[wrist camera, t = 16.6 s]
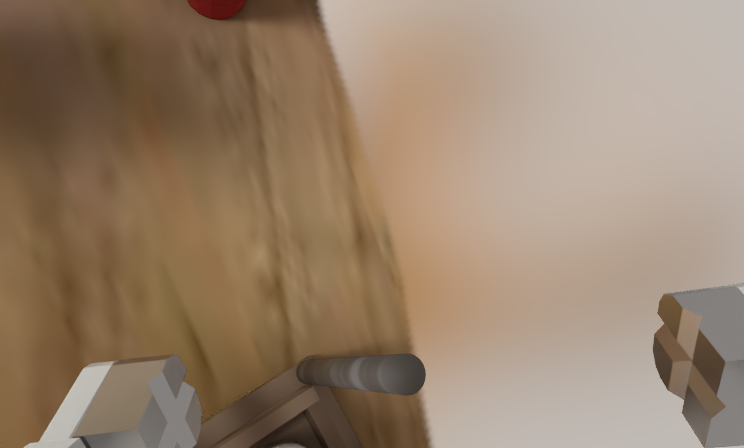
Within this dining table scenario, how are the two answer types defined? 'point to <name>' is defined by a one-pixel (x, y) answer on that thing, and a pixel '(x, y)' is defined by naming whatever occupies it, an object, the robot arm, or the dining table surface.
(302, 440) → the roll holder
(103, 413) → the robot arm
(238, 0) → the plastic cup
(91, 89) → the dining table surface
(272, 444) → the paper roll
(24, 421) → the dining table surface
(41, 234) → the dining table surface
